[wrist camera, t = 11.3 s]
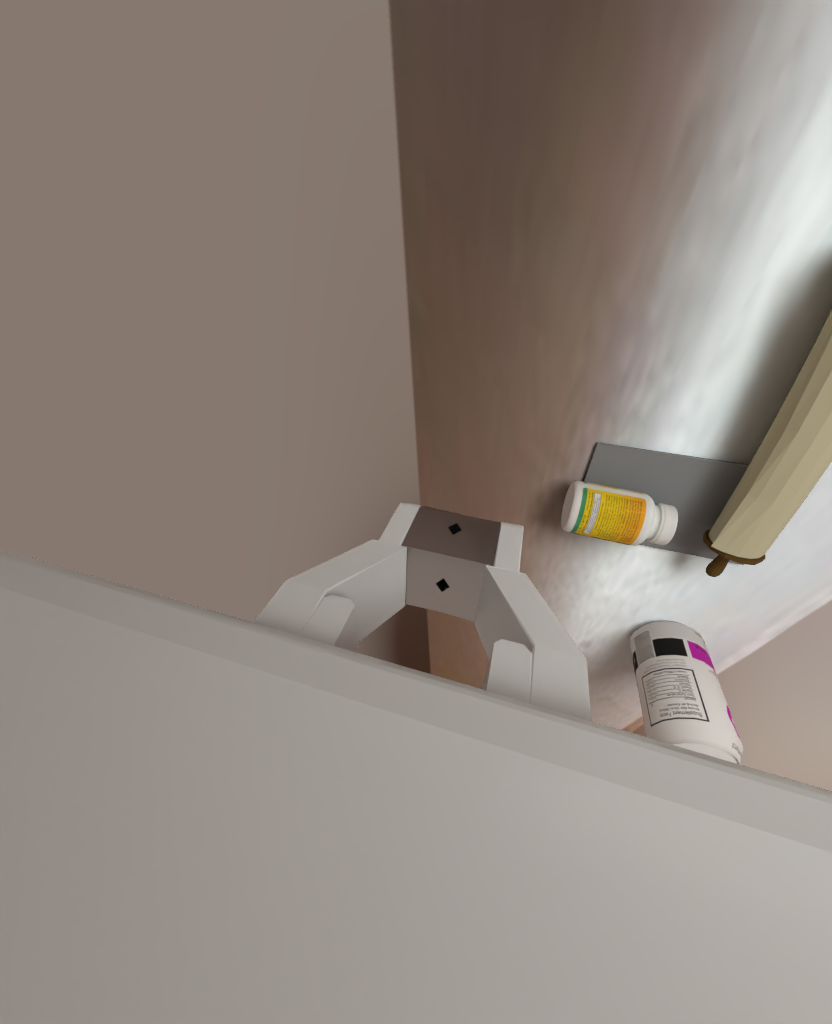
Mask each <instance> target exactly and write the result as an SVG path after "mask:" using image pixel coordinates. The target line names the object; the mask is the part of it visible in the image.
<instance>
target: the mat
mask: <svg viewBox="0 0 832 1024" xmlns="http://www.w3.org/2000/svg"><path fill="white" fill-rule="evenodd" d="M748 466H749V465H745V464H739V463H732V462H725V461H719V460H712V459H705V458H698V457H692V456H685V455H678V454H672V453H665V452H658V451H651V450H645V449H638V448H631V447H625V446H618V445H611V444H604V443H598V442H597V444H596V447H595V450H594V453H593V456H592V458H591V461H590V464H589V467H588V470H587V473H586V476H585V478H584V481H583V482H588V483H594V484H599V485H604V486H609V487H614V488H620V489H625V490H631V491H636V492H641V493H645V494H647V495H649V496H650V497H651V498H652V499H653V501H654V504H657V503H663V504H667V505H672V506H674V507H675V508H676V509H677V513H678V523H677V527H676V531H675V534H674V536H673V538H672V539H671V541H670V542H669V543H668V544H666V545H659V544H652V543H650V542H648V541H647V540H645V541H643V542H642V543H640V545H645V546H650V547H655V548H660V549H665V550H670V551H675V552H681V553H686V554H691V555H696V556H701V557H706V558H711V559H715V558H716V557H717V556H718V554H717V553H715V552H714V551H712V550H710V549H709V547H708V546H707V545H706V544H705V543H704V541H703V535H704V533H705V531H707V530H710V529H712V527H713V525H714V524H715V522H716V520H717V519H718V517H719V515H720V514H721V512H722V510H723V509H724V507H725V505H726V504H727V502H728V500H729V499H730V497H731V495H732V494H733V492H734V490H735V489H736V487H737V485H738V484H739V482H740V480H741V479H742V477H743V475H744V473H745V472H746V470H747V468H748ZM729 562H732V563H737V562H734V561H731V560H729ZM737 564H740V563H737ZM742 565H744V564H742Z"/></svg>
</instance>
